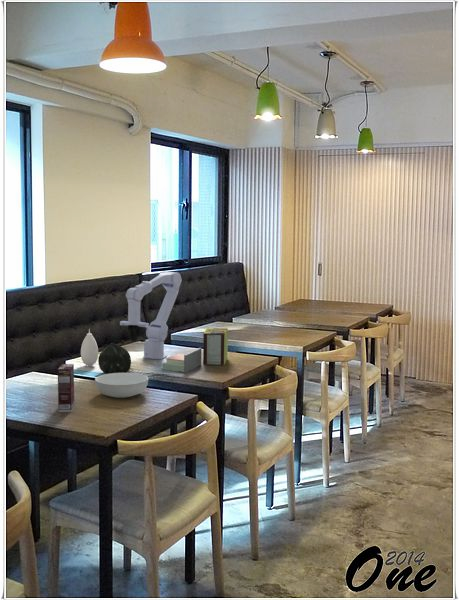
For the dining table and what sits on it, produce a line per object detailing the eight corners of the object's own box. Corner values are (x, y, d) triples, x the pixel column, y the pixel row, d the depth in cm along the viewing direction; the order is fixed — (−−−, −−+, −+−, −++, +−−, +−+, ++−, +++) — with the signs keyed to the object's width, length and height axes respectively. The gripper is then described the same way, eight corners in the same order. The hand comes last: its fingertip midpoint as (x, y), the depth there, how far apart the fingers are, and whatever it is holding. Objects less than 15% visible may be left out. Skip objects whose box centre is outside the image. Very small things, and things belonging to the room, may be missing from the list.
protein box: (227, 358, 332) (228, 328, 330) (224, 365, 316) (224, 333, 314) (206, 357, 333) (207, 327, 331) (202, 364, 317) (203, 332, 315)
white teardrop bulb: (88, 368, 304) (88, 330, 302) (77, 366, 308) (77, 328, 306) (101, 366, 310) (101, 328, 308) (90, 363, 315) (90, 326, 312)
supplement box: (61, 405, 245) (61, 363, 243) (74, 405, 245) (74, 363, 243) (57, 412, 236) (57, 369, 234) (71, 412, 237) (70, 369, 235)
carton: (166, 369, 307) (166, 358, 306) (176, 364, 318) (177, 353, 318) (186, 371, 304) (186, 360, 303) (196, 366, 315) (196, 355, 314)
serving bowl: (158, 392, 266) (158, 375, 266) (129, 405, 247) (129, 387, 247) (114, 386, 275) (114, 369, 274) (84, 398, 256) (83, 380, 255)
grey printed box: (162, 369, 304) (162, 352, 304) (178, 362, 321) (178, 345, 320) (186, 372, 300) (186, 355, 299) (201, 364, 317) (201, 348, 316)
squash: (130, 356, 306) (109, 334, 300) (141, 364, 293) (120, 341, 287) (108, 378, 303) (86, 356, 296) (118, 387, 290) (96, 364, 283)
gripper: (116, 313, 315) (116, 341, 316) (144, 315, 310) (143, 343, 312) (123, 311, 321) (123, 338, 323) (150, 313, 317) (150, 341, 318)
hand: (134, 341), depth 318 cm, fingers closed
